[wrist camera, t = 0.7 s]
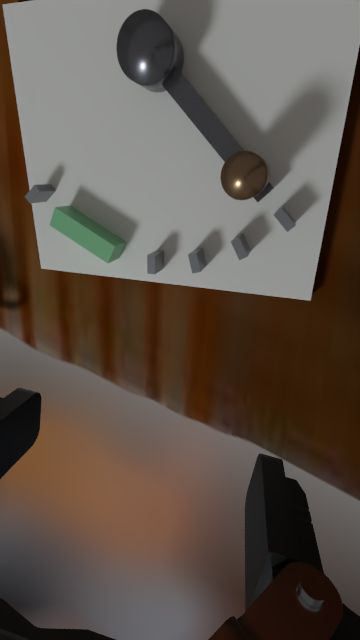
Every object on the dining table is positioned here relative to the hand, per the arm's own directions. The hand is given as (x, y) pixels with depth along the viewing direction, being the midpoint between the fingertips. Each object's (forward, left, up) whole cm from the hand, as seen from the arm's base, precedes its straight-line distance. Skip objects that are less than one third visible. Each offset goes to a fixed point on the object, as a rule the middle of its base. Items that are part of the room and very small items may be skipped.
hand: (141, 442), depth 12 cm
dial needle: (-13, -4, -23) cm, 27 cm away
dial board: (-10, -8, -25) cm, 28 cm away
